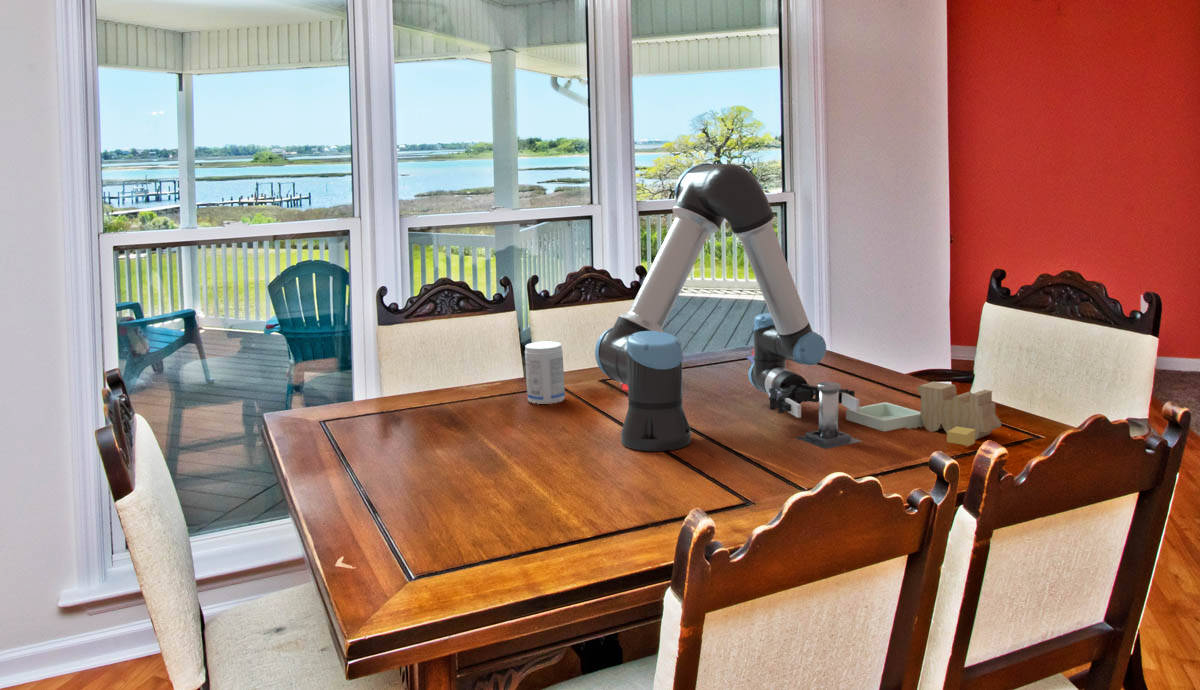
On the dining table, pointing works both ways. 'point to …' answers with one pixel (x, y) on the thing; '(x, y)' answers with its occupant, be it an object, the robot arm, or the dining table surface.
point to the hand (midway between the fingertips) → (828, 408)
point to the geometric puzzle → (751, 357)
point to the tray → (885, 417)
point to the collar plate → (828, 439)
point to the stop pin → (828, 408)
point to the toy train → (957, 409)
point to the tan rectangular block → (961, 436)
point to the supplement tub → (544, 372)
